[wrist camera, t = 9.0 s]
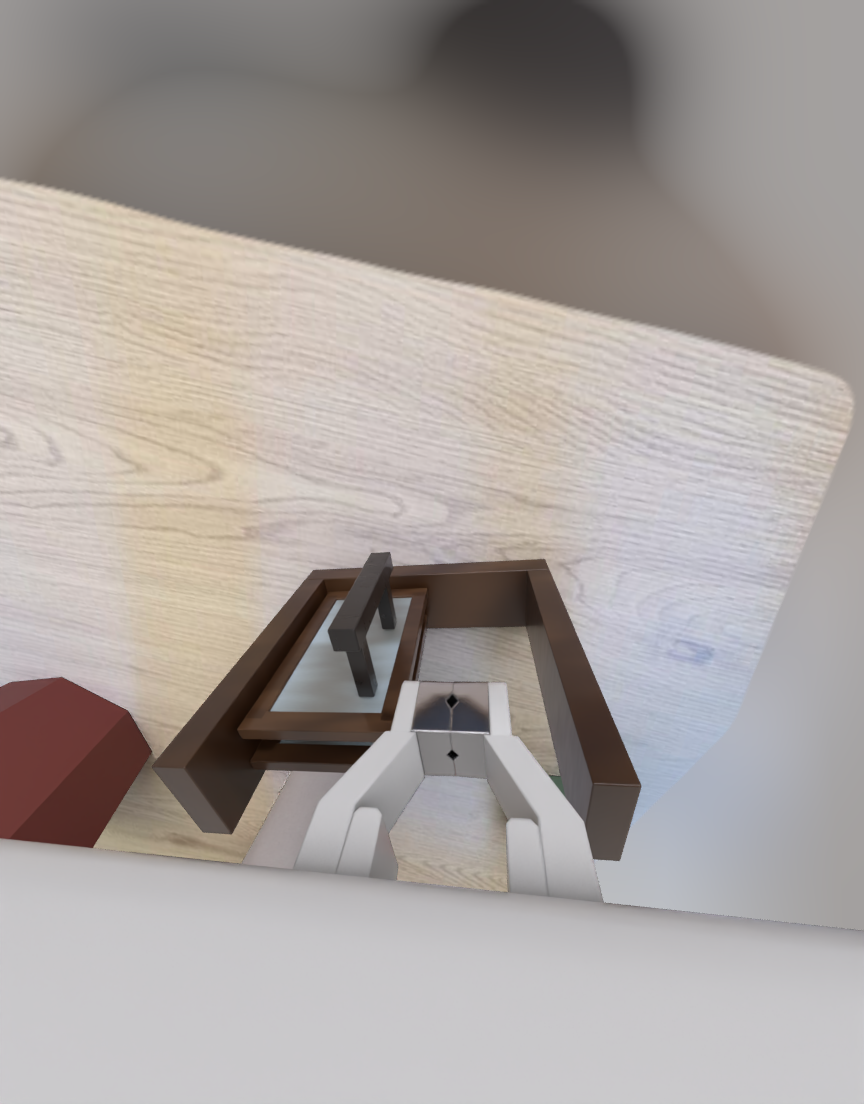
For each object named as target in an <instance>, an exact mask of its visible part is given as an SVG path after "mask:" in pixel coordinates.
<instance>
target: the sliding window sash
mask: <svg viewBox="0 0 864 1104" xmlns="http://www.w3.org/2000/svg"><path fill="white" fill-rule="evenodd" d="M392 571H393V565H392V560H391V554H390V552H385V553H371V554H370V556H369V558H368V560H367V561H366V563H365V565H364V567H363V568H362V570H361V572H360V574H359V575H358V577H357V579H356V581H355V582H354V584H353V586H352V588H351V589H350V591H337V592H328V594H327V595H326V597H325V598H324V600H323V602H322V603H321V605H320V606H319V608H318V609H317V611H316V612H315V614H314V615H313V617H312V618H311V620H310V621H309V623H308V624H307V626H306V627H305V629H304V630H303V632H302V633H301V635H300V636H299V638H298V639H297V641H296V642H295V644H294V645H293V647H292V648H291V650H290V651H289V653H288V654H287V656H286V657H285V659H284V660H283V662H282V663H281V665H280V666H279V668H278V669H277V671H276V672H275V674H274V675H273V677H272V678H271V680H270V681H269V683H268V684H267V686H266V687H265V689H264V690H263V692H262V693H261V695H260V696H259V698H258V699H257V701H256V702H255V704H254V705H253V707H252V708H251V710H250V711H249V712H248V714H247V715H246V717H245V718H244V720H243V721H242V723H241V724H240V726H239V727H238V729H237V730H238V732H239V734H240V736H241V738H242V739H267V740H305V741H344V742H375V741H376V740H377V739H378V738H379V737H380V736H381V735H382V734H383V733H384V732H385V731H391V727H392V723H393V718H394V714H395V710H396V706H397V702H398V698H399V694H400V690H401V686H402V684H403V682H404V681H412V676H413V671H414V666H415V661H416V656H417V650H418V645H419V640H420V635H421V630H422V624H423V619H424V614H425V609H426V604H427V599H428V591H427V588H415V589H391V587H390V582H389V578H390V576H391V573H392Z"/></svg>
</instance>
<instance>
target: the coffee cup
mask: <svg viewBox="0 0 864 1104" xmlns="http://www.w3.org/2000/svg"><path fill="white" fill-rule="evenodd" d="M344 774H345V773H332V772H307V771H292V772H291V774H290V776H289V777H288V779H287V781H286V783H285V785H284V787H283V788H282V790H281V792H280V794H279V796H278V798H277V799H276V801H275V803H274V805H273V807H272V809H271V810H270V812H269V814H268V816H267V818H266V820H265V821H264V823H263V825H262V827H261V829H260V830H259V832H258V834H257V836H256V838H255V840H254V841H253V843H252V845H251V847H250V849H249V851H248V852H247V854H246V856H245V858H244V860H243V861H242V863H241V864H247V865H257V866H266V867H275V868H285V869H293V866H294V864H295V861H296V858H297V856H298V853H299V850H300V848H301V845H302V843H303V840H304V837H305V835H306V832H307V829H308V827H309V824H310V821H311V819H312V816H313V813H314V811H315V808H316V806H317V803H318V801H319V800H320V799H321V798H322V797H323V796H324V795H325V794H326V793H327V791H328V790H329V789H330V788H331V787H332V786H333V785H334V784H335V783H336V782H337V781H338V780H339V779H340V778H341V777H342V776H343V775H344Z"/></svg>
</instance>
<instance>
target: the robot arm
mask: <svg viewBox="0 0 864 1104" xmlns="http://www.w3.org/2000/svg"><path fill="white" fill-rule="evenodd" d="M488 694H489V695H488ZM424 775H432V776H460V777H471V778H483V779H487V782H488V784H489V785H490V787H491V789H492V791H493V793H494V795H495V797H496V799H497V800H498V802H499V804H500V806H501V808H502V810H503V812H504V813H505V815H506V817H507V819H508V822H507V823H506V854H507V887H508V892H500V891H491V890H481V889H472V888H463V887H453V886H444V885H435V884H425V883H416V882H407V881H397V880H396V879H397V873H398V864H397V860H396V857H395V854H394V851H393V848H392V845H391V841H390V838H389V835H388V833H389V832H390V830H391V829H392V827H393V826H394V824H395V823H396V821H397V820H398V818H399V816H400V815H401V813H402V812H403V810H404V809H405V807H406V806H407V804H408V803H409V801H410V800H411V798H412V797H413V795H414V793H415V792H416V790H417V789H418V787H419V786H420V784H421V783H422V781H423V780H424V778H425V776H424ZM0 1104H864V930H854V929H845V928H835V927H827V926H817V925H807V924H798V923H789V922H780V921H770V920H761V919H752V918H742V917H733V916H724V915H714V914H705V913H695V912H686V911H677V910H667V909H658V908H649V907H640V906H631V905H621V904H612V903H604V902H603V898H602V894H601V890H600V886H599V881H598V877H597V873H596V869H595V865H594V861H593V857H592V853H591V849H590V845H589V841H588V837H587V832H586V828H585V824H584V821H583V820H582V818H581V817H580V816H579V815H578V813H577V812H576V811H575V809H574V808H573V807H572V805H571V804H570V803H569V802H568V800H567V799H566V798H565V796H564V795H563V794H562V793H561V791H560V790H559V789H558V787H557V786H556V785H555V783H554V782H553V781H552V780H551V778H550V777H549V776H548V774H547V773H546V772H545V771H544V769H543V768H542V767H541V765H540V764H539V763H538V761H537V760H536V759H535V758H534V756H533V755H532V754H531V752H530V751H529V750H528V749H527V747H526V746H525V745H524V743H523V742H522V741H521V739H520V738H519V737H518V736H512V730H511V720H510V710H509V701H508V691H507V684H506V682H436V681H404V682H403V684H402V686H401V690H400V694H399V698H398V702H397V706H396V710H395V714H394V718H393V723H392V727H391V731H385V732H384V733H383V734H382V735H381V736H380V737H379V738H378V739H377V740H376V741H375V742H374V743H373V744H372V745H371V747H370V748H369V749H368V750H367V751H366V752H365V753H364V754H363V755H362V756H361V757H360V758H359V759H358V760H357V761H356V762H355V763H354V764H353V765H352V766H351V767H350V768H349V770H348V771H347V772H346V773H345V774H344V775H343V776H342V777H341V778H340V779H339V780H338V781H337V782H336V783H335V784H334V785H333V786H332V787H331V788H330V789H329V790H328V791H327V793H326V794H325V795H324V796H323V797H322V798H321V799H320V800H319V801H318V803H317V806H316V808H315V811H314V813H313V816H312V819H311V821H310V824H309V827H308V829H307V832H306V835H305V837H304V840H303V843H302V845H301V848H300V850H299V853H298V856H297V858H296V861H295V864H294V866H293V869H285V868H275V867H266V866H257V865H247V864H238V863H229V862H219V861H210V860H200V859H191V858H182V857H172V856H163V855H153V854H144V853H135V852H125V851H116V850H106V849H97V848H88V847H78V846H69V845H59V844H50V843H40V842H31V841H21V840H12V839H2V838H0Z"/></svg>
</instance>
